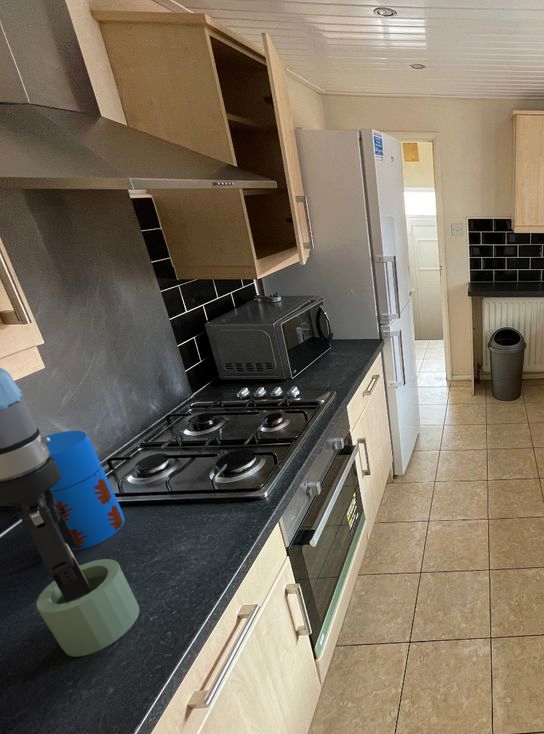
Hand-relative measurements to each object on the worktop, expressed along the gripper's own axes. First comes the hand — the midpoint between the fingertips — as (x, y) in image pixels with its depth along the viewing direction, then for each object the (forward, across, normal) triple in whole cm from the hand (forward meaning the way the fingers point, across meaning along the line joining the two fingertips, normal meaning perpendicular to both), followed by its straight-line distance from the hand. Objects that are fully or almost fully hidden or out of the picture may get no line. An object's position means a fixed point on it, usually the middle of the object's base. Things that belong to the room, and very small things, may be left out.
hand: (72, 571), depth 70 cm
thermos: (+14, +29, -3) cm, 32 cm away
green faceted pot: (+14, 0, 0) cm, 14 cm away
